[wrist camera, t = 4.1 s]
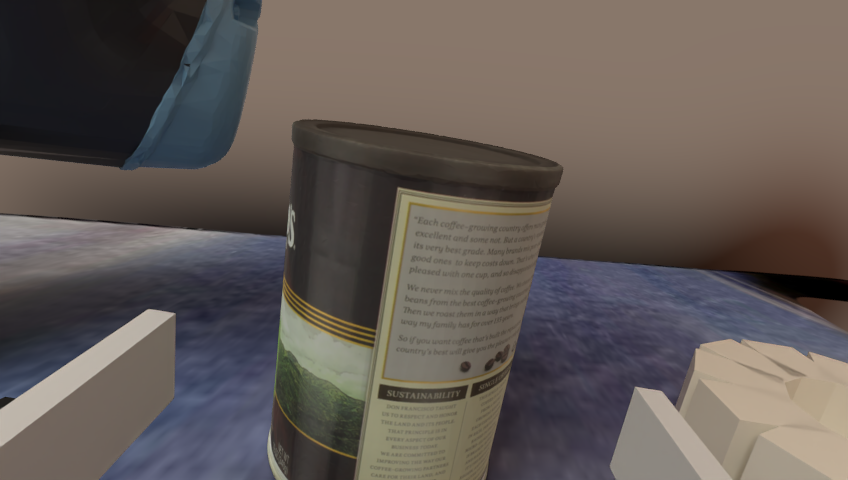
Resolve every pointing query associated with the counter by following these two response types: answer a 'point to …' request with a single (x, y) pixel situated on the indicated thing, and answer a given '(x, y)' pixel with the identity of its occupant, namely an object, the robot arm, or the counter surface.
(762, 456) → the cream cog ring
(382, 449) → the coffee can
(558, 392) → the counter surface
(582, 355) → the counter surface
